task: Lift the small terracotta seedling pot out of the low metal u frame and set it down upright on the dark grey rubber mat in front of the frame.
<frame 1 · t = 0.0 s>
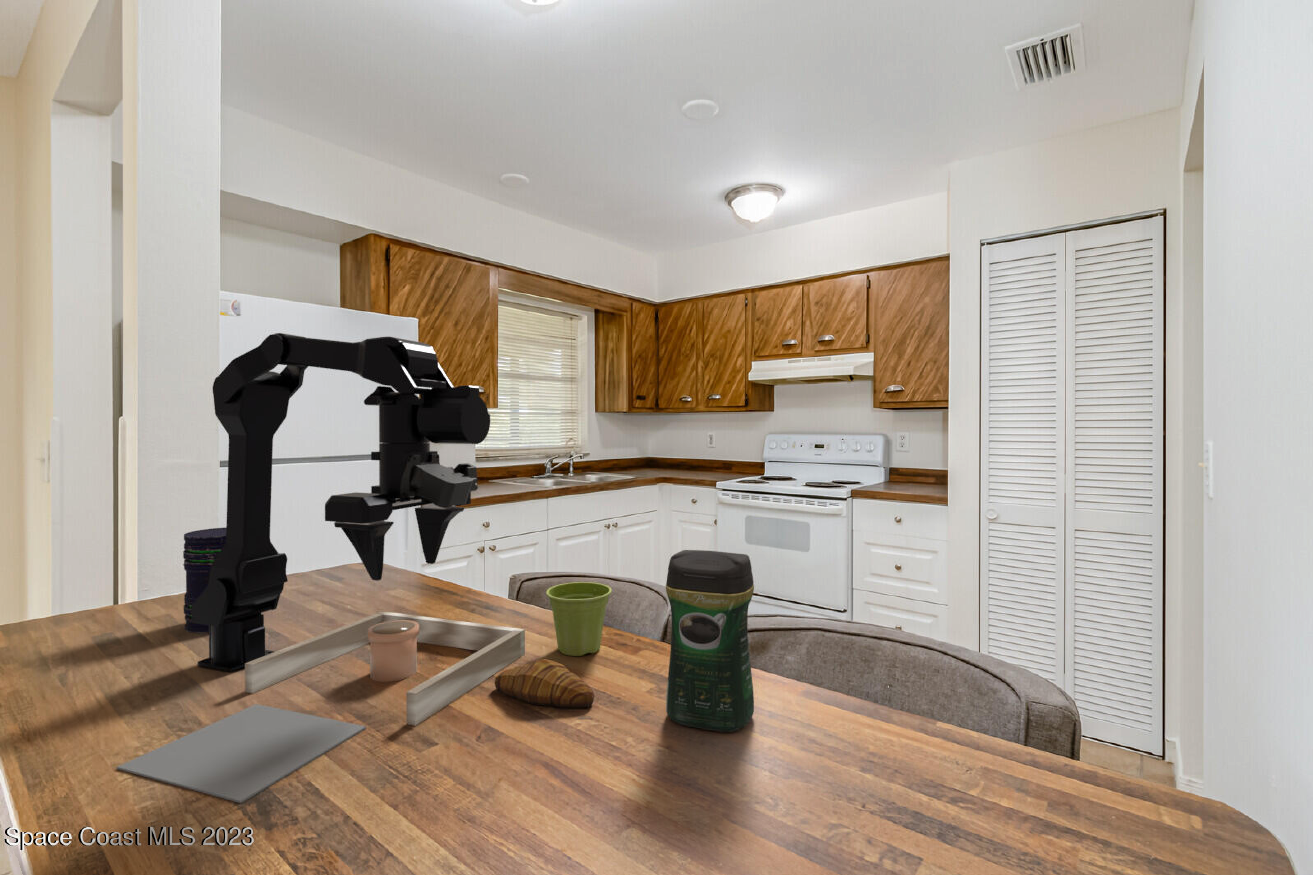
hand: (405, 571, 75), 15 cm above the table, fingers open, 9 cm apart
metal u frame: (393, 672, 81), on the table
storage jar: (221, 624, 101), on the table
seedling pot: (393, 673, 81), on the table
grey mat: (249, 747, 62), on the table
croissant: (542, 701, 74), on the table
coffee jar: (709, 718, 70), on the table
plant pot: (579, 650, 90), on the table
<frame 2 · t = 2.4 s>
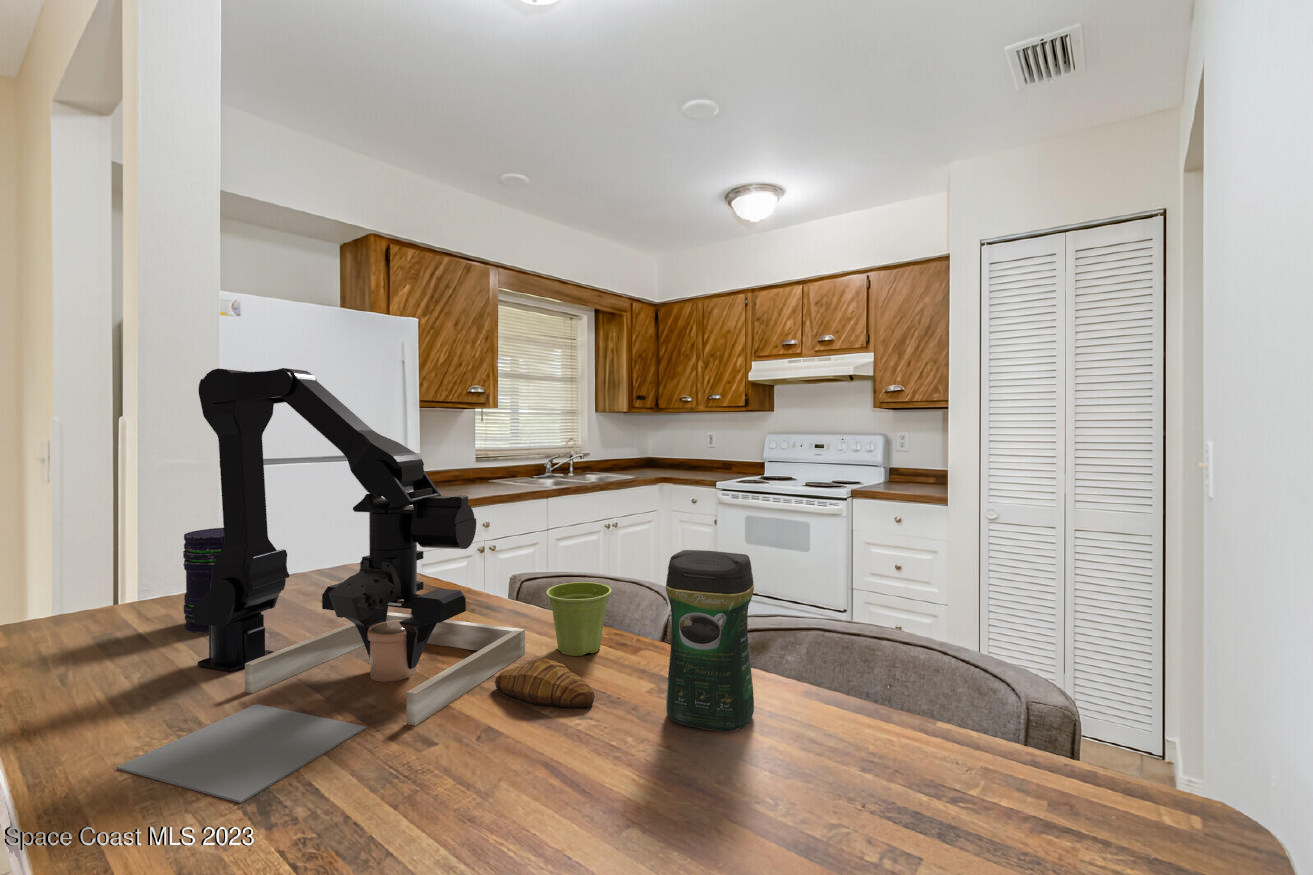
hand: (393, 665, 81), 1 cm above the table, fingers closed on seedling pot, 6 cm apart
seedling pot: (393, 672, 81), on the table, touching gripper
everything else where it was.
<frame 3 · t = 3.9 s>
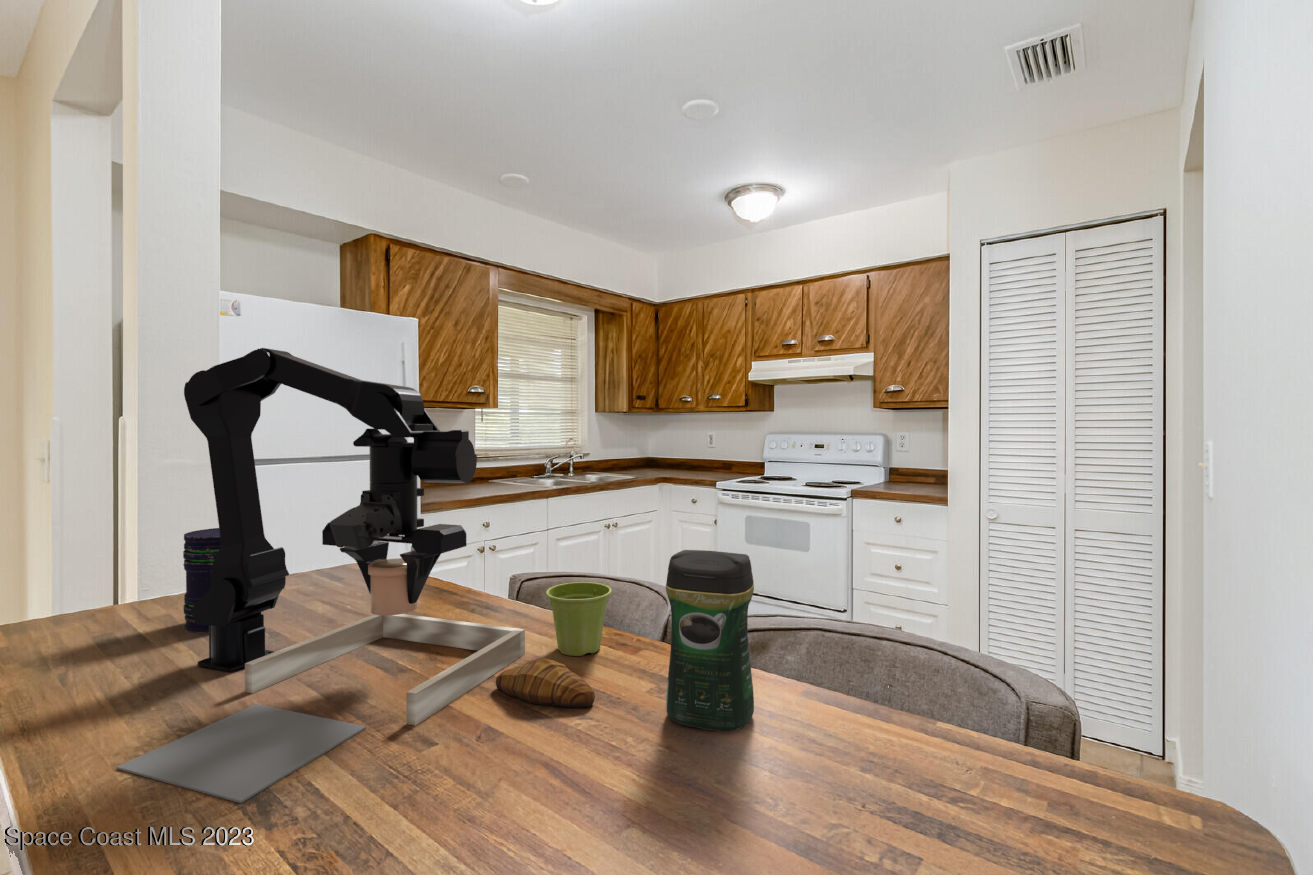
hand: (394, 600, 81), 9 cm above the table, fingers closed on seedling pot, 6 cm apart
seedling pot: (394, 609, 81), point 8 cm above the table, touching gripper
everything else where it was.
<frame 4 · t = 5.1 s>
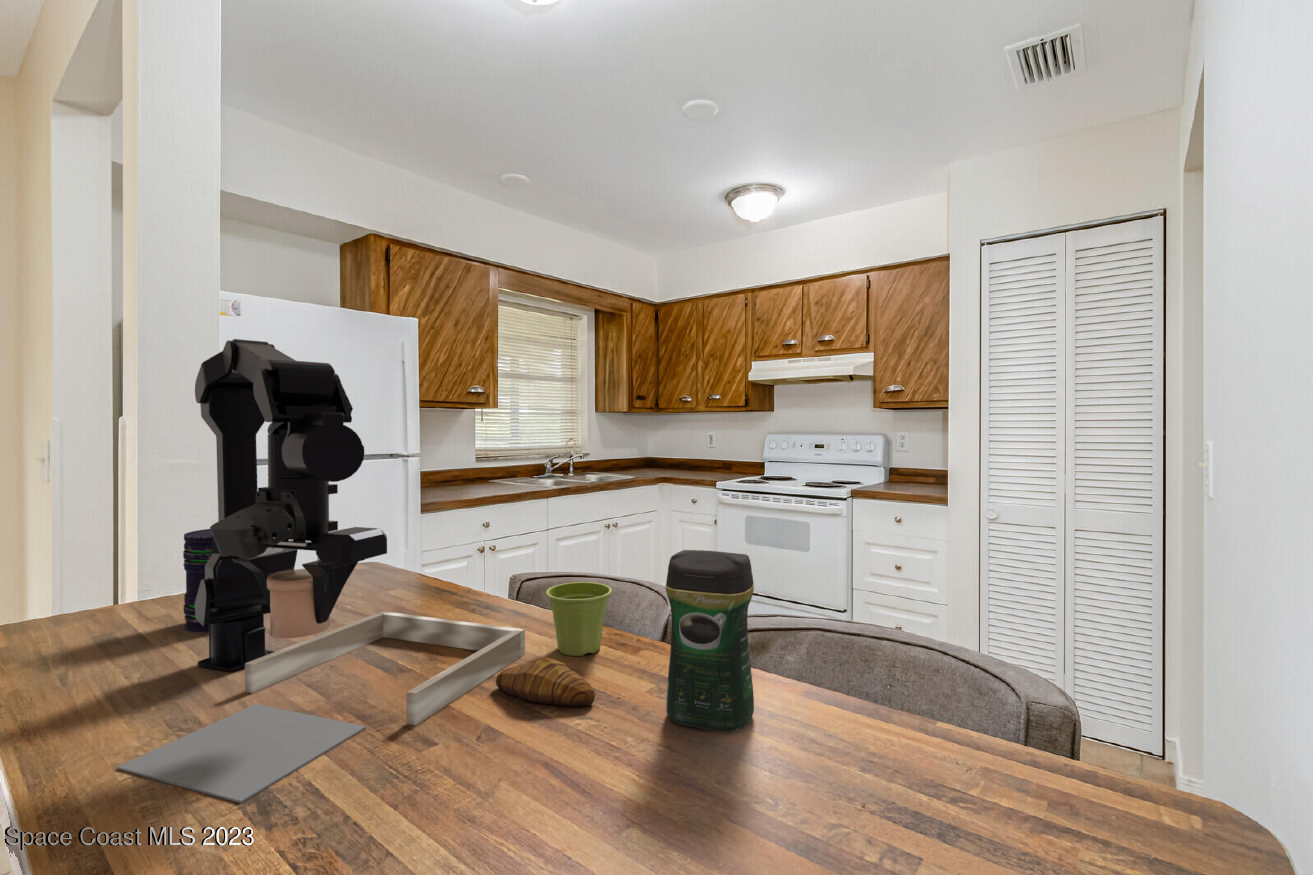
hand: (300, 620, 67), 11 cm above the table, fingers closed on seedling pot, 6 cm apart
seedling pot: (300, 629, 67), point 10 cm above the table, touching gripper
everything else where it was.
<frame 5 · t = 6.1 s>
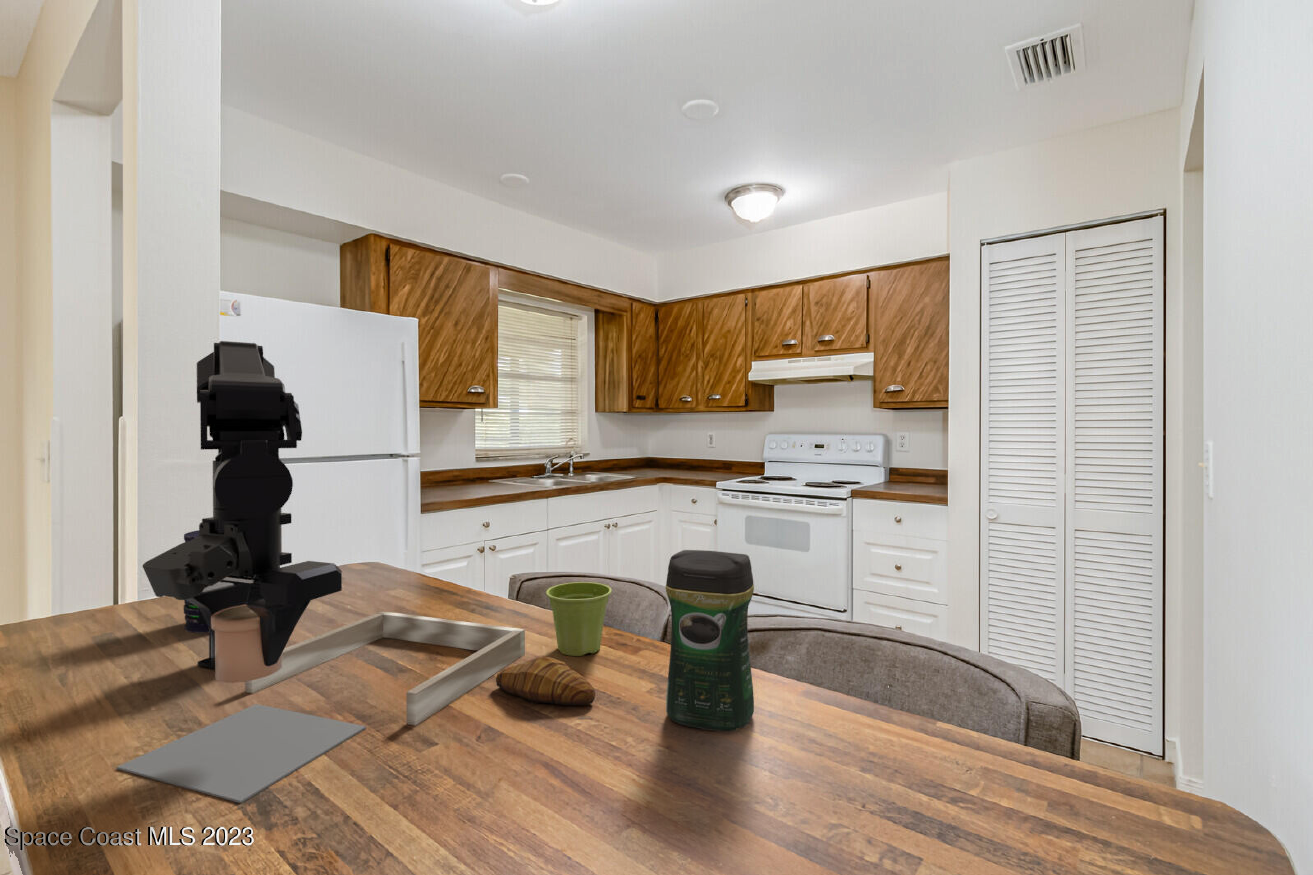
hand: (249, 661, 62), 9 cm above the table, fingers closed on seedling pot, 6 cm apart
seedling pot: (249, 671, 62), point 8 cm above the table, touching gripper
everything else where it was.
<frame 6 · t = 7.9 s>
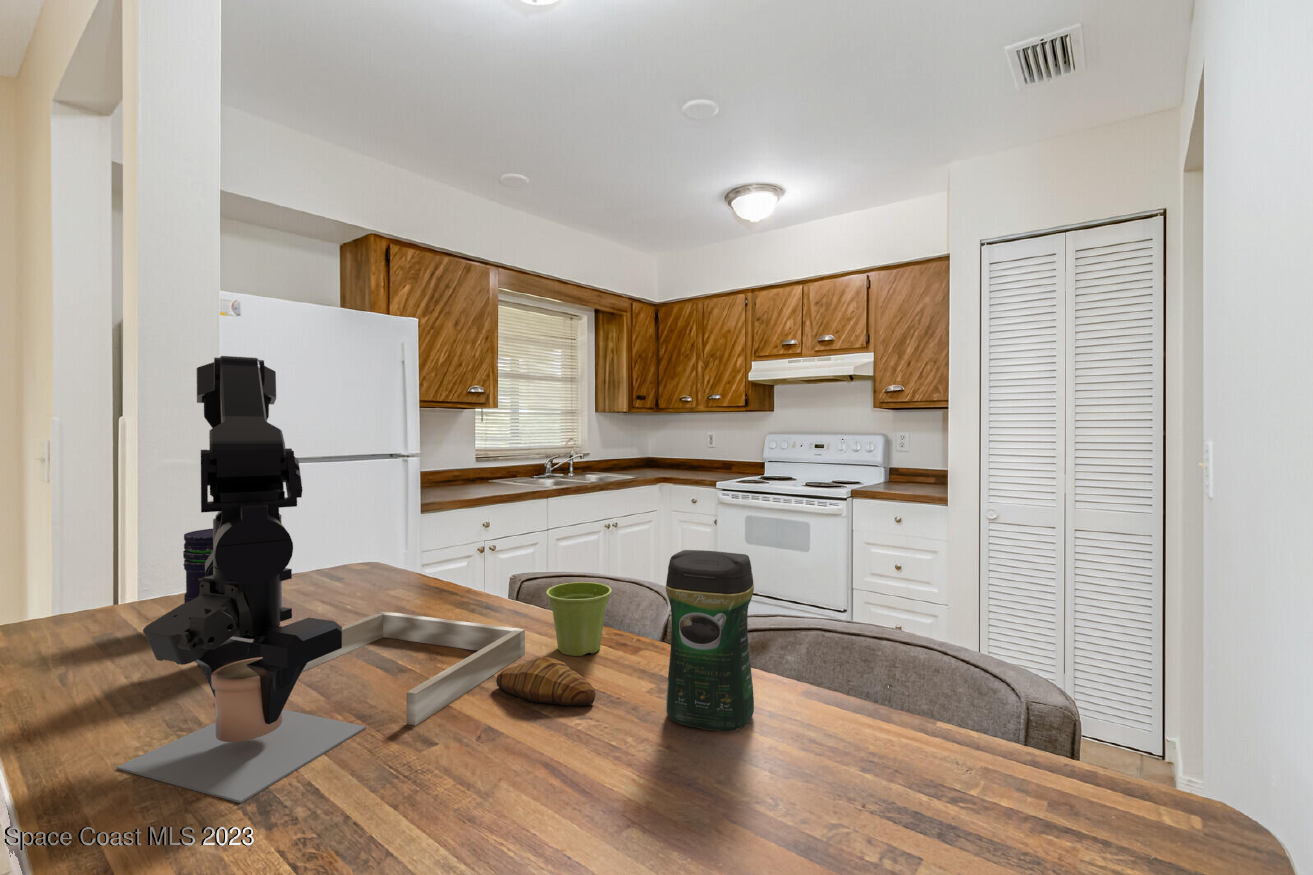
hand: (249, 717, 62), 3 cm above the table, fingers closed on seedling pot, 6 cm apart
seedling pot: (249, 727, 62), point 2 cm above the table, touching gripper
everything else where it was.
when the fingers open (3 cm above the table, at t = 7.9 s): seedling pot drops 2 cm, resting on grey mat.
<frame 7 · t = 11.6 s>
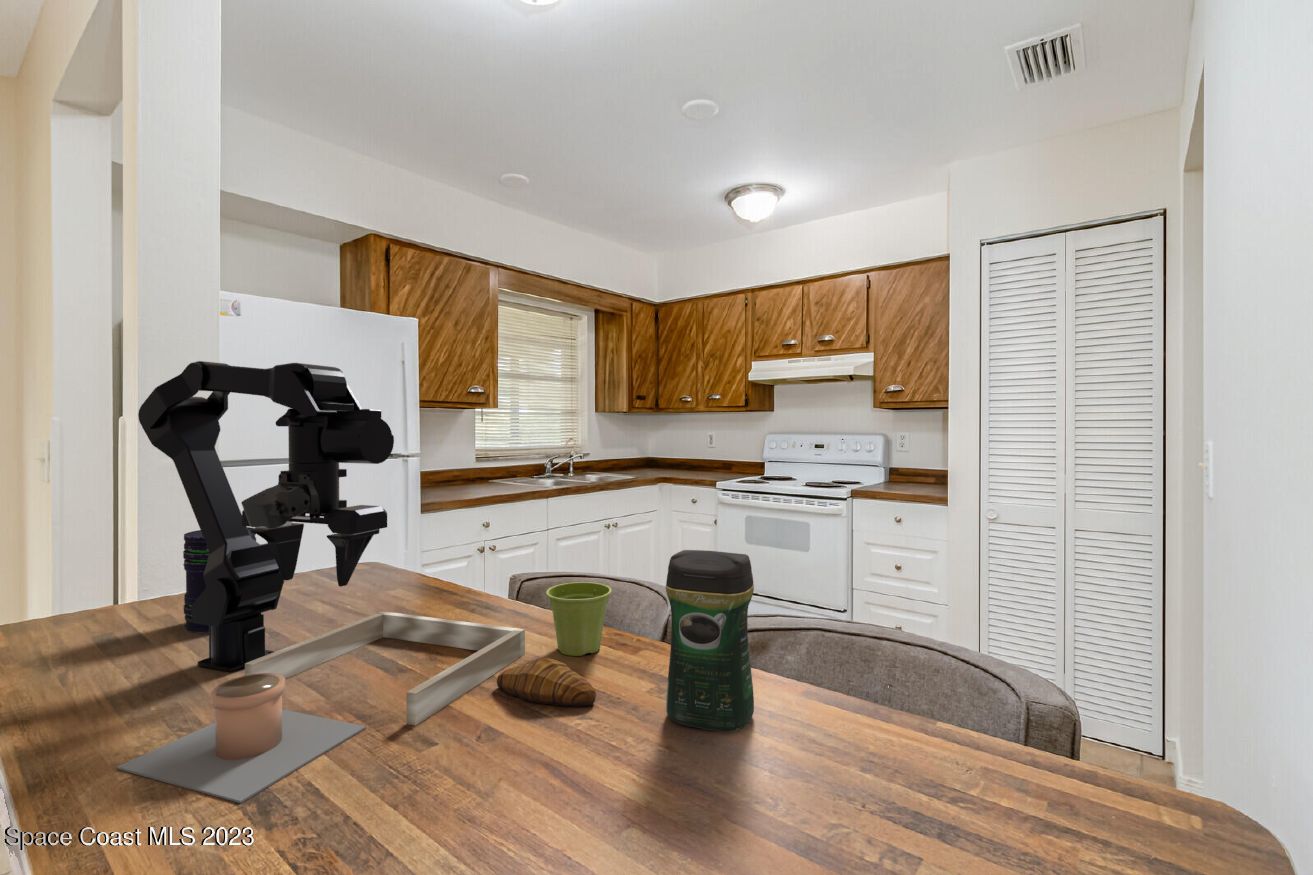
hand: (314, 582, 80), 12 cm above the table, fingers open, 9 cm apart
seedling pot: (249, 744, 62), resting on grey mat
everything else where it was.
at the end: seedling pot inside the target area (0.1 cm from its centre), resting on grey mat; seedling pot tilted 1°; the gripper is holding nothing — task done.
